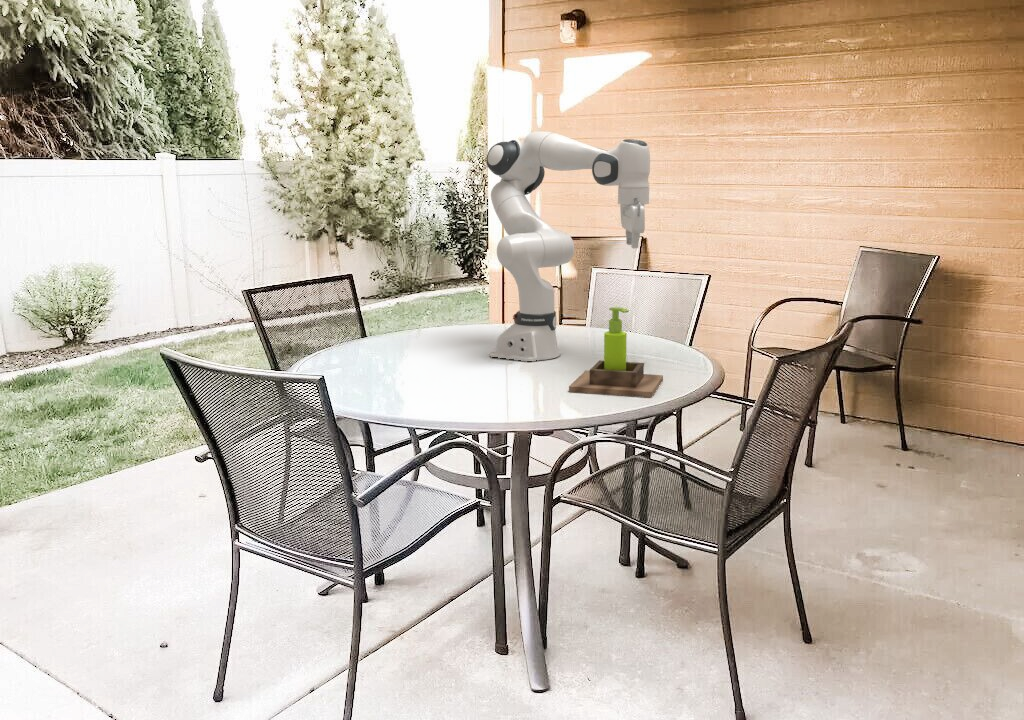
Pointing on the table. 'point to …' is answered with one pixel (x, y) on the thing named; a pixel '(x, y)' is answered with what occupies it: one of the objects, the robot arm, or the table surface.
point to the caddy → (617, 381)
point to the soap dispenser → (615, 343)
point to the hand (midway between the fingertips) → (632, 246)
